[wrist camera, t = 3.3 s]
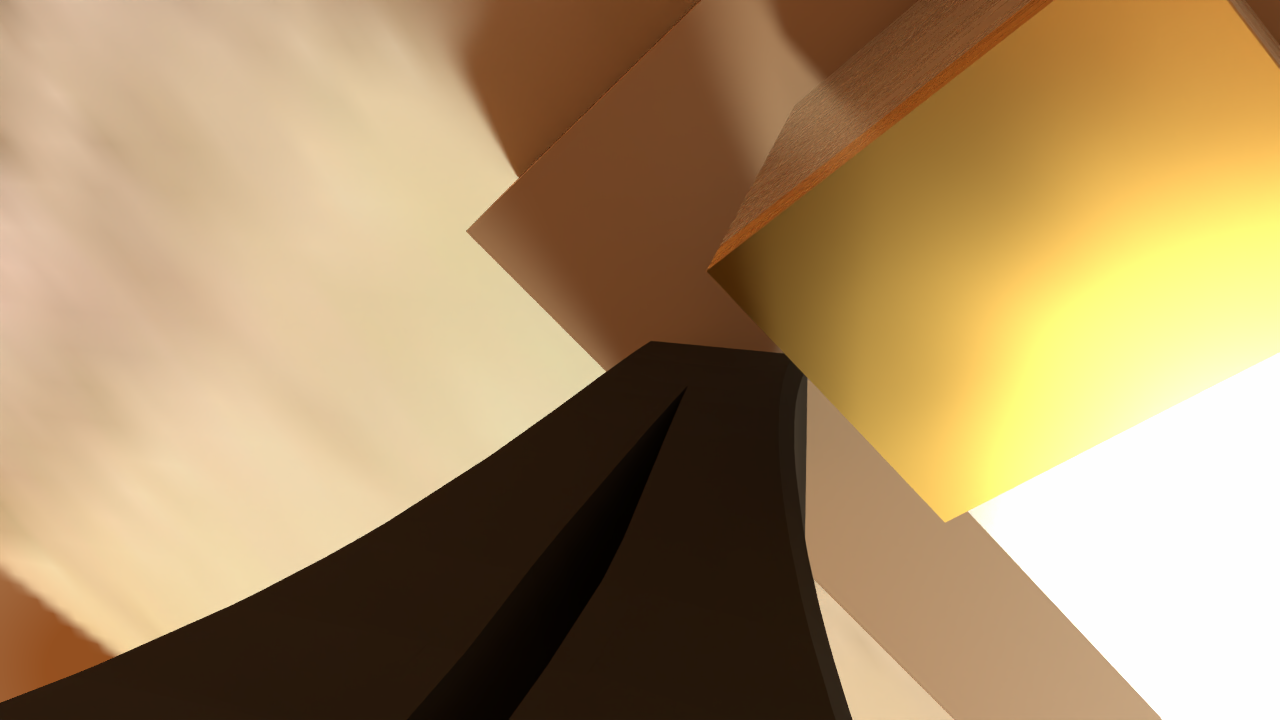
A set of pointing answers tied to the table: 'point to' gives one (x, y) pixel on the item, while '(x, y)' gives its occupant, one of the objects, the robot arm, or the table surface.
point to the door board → (706, 315)
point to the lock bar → (1057, 307)
